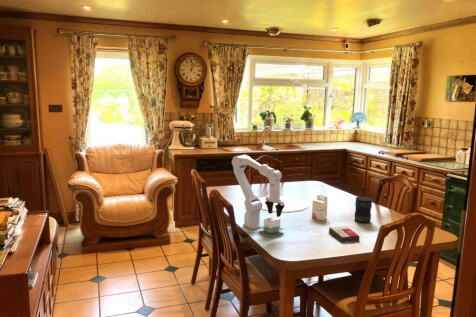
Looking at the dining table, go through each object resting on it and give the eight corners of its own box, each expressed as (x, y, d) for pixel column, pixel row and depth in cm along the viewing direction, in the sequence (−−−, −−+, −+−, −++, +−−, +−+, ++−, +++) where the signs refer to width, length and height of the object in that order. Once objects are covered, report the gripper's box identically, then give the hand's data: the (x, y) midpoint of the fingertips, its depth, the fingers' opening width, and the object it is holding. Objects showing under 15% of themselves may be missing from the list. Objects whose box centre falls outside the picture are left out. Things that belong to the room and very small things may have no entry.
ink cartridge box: (311, 217, 251) (312, 195, 249) (315, 215, 255) (316, 194, 252) (322, 220, 245) (323, 198, 243) (326, 218, 249) (328, 196, 246)
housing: (262, 227, 220) (262, 219, 219) (275, 224, 226) (276, 216, 225) (267, 230, 216) (268, 221, 215) (281, 227, 221) (281, 218, 221)
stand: (259, 232, 222) (259, 226, 222) (272, 229, 228) (272, 223, 227) (269, 237, 214) (270, 231, 214) (283, 234, 220) (283, 228, 219)
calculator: (341, 236, 208) (329, 226, 223) (341, 244, 209) (328, 233, 223) (360, 235, 211) (346, 225, 225) (359, 242, 212) (345, 231, 226)
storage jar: (369, 219, 249) (371, 197, 246) (371, 224, 239) (373, 201, 237) (353, 218, 251) (355, 196, 248) (354, 223, 241) (356, 199, 239)
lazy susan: (246, 209, 268) (246, 204, 267) (259, 195, 305) (259, 191, 304) (303, 215, 256) (304, 210, 256) (310, 200, 293) (311, 196, 293)
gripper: (261, 190, 223) (261, 213, 225) (277, 195, 211) (277, 219, 213) (271, 188, 227) (270, 211, 229) (287, 193, 215) (286, 217, 217)
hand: (274, 214), depth 221 cm, fingers open, 7 cm apart
